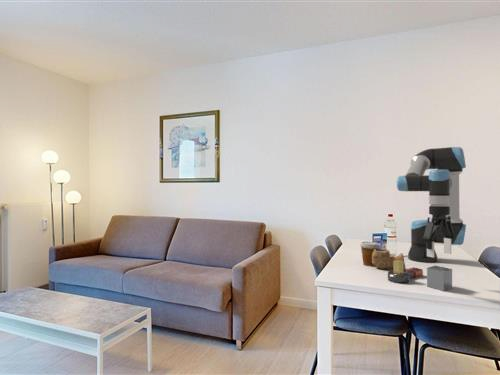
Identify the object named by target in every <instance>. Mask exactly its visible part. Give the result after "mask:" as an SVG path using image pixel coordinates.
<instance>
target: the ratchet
mask: <svg viewBox="0 0 500 375" xmlns="http://www.w3.org/2000/svg"><path fill="white" fill-rule="evenodd" d="M392 269H393V270H392V271H388V272H387V281H389V282H391V283H394V284H401V285H402V284H403V285H404V284H405V285H406V284H409V283H410V280H413V279H418V278H420V277H423V274H424V270H423V268H422V269H421V268H418V267H415V266H414V267H410V268H407V269H406V270H405V271H404V270H403V261H400V260H395V261H393V268H392Z"/></svg>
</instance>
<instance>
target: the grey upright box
mask: <svg viewBox="0 0 500 375" xmlns="http://www.w3.org/2000/svg"><path fill="white" fill-rule="evenodd" d="M426 287H428V288H430V289H434V290H436V291H437V290H438V291H441V292H446V291H449V290H452V289H453V268H449V267H444V266H439V265H434V266H432V265H431V266H429V267H426Z"/></svg>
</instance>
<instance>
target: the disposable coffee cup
mask: <svg viewBox="0 0 500 375" xmlns="http://www.w3.org/2000/svg"><path fill="white" fill-rule="evenodd" d="M360 247H361V250H360V251H361V256H362V263H363V265H364V266H367V267H375V266H374V265H373V263H372V253H373V251H374V249H377V248H379V244H378V243H377V242H375V241H361V242H360Z"/></svg>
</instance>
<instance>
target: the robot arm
mask: <svg viewBox="0 0 500 375" xmlns="http://www.w3.org/2000/svg"><path fill="white" fill-rule="evenodd" d="M466 166H467V165H466V157H465V152H464V150H463V148H462V147H461V146H460V147H459V146H450V147H439V148H438V147H437V148H428V149H424V150H421V151H420V152H418V153H417V154H416V155H414V156H413V157H412V158H411V160H410V166H409V168H408V171H407V172H406V173H405V175H399V176H398V177H397V178H396V189H397V190H398V191H399V192H428V204H429V206H428V213H429V215H431V216H432V217H427V219H419V220H414V221H412V222H411V225H410V226H411V227H410V235H411V237H410V238H411V240H410V242H411V243H410V247H409V250H408V254H407V258H408V259H409V260H411V261H414V262H419V263H436V262H438V259H439V258H438V254H437V252H436V249H435V243H436V244H443V253H444V254H450V255H451V254H452V246H455V245H457V246H461V245H463V244H464V240H465V234H466V228H467V224H465V223H464V221H463V219H461V217H460V216H461V215H460V174H462V173H463V169H466ZM427 170H429V173H428V174H427V175H425V172H426V171H427Z"/></svg>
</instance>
